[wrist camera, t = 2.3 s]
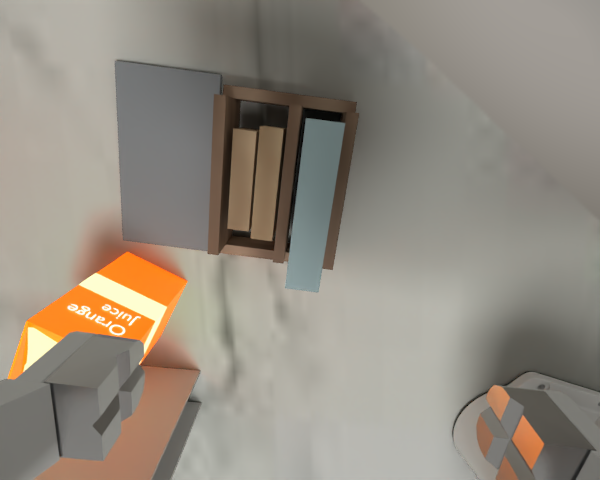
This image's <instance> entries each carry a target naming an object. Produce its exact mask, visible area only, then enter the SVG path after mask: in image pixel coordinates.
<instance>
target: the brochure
mask: <svg viewBox="0 0 600 480" xmlns="http://www.w3.org/2000/svg"><path fill="white" fill-rule="evenodd" d="M141 367H142V369H143V370H144V371H145V383H144V389H143V393H142V396H141V399H140V401H139V404H138V406H137V408H136V409H135V411H134V413H133V414H132V416H130V417H128V418H127V419H125V420H123V421H122V422H121V434H120V436H119V437H118V439H117V440H116V442H115V444H114V445H113V447H112V448H111V450H110V452H109V453H108V455H107V456H106V458H105V460H104V461H95V460H84V459H72V458H61V457H60V460H59V461H58V462H56V463H55V464H54V465H52V466H51V467H50V468H48V469H47V470H45V471H44V472H43V473H41V474H40V475H39V476H37V477H36V478H34V479H33V480H171V479H172V477H173V474H174V472H175V469H176V467H177V464H178V462H179V459H180V457H181V454H182V452H183V449H184V447H185V444H186V442H187V439H188V437H189V434H190V432H191V429H192V427H193V424H194V422H195V419H196V417H197V414H198V412H199V409H200V407H201V403H199V402H187V401H188V399H189V397H190V394H191V392H192V390H193V388H194V385H195V383H196V381H197V379H198V377H199V374H200V371H199V370H187V369H175V368H163V367H150V366H141Z"/></svg>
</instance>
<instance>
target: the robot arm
mask: <svg viewBox="0 0 600 480" xmlns="http://www.w3.org/2000/svg"><path fill="white" fill-rule="evenodd" d="M143 357H144V343H143V342H142V341H141V340H137V339H130V338H123V337H116V336H110V335H103V334H95V333H88V332H80V331H74V332H70V333H68V334H67V335H66V336H65V337H64V338H63V339H61V340H60V341H59V342H58V343H57V344H56V345H54V346H53V347H52V348H51V349H50V350H48V351H47V352H46V353H45V354H44V355H43V356H41V357H40V358H39V359H38V360H37V361H36V362H34V363H33V364H32V365H31V366H30V367H29V368H27V369H26V370H25V371H24V372H23V373H22V374H20V375H19V376H18V377H17V378H16V379H4V380H2V381H0V480H33V479H34V478H36V477H37V476H39V475H40V474H41V473H43V472H44V471H45V470H47V469H48V468H50V467H51V466H52V465H54V464H55V463H56V462H58V461H59V460H60V457H61V458H72V459H84V460H95V461H104V460H105V458H106V456H107V455H108V453H109V452H110V450H111V448H112V447H113V445H114V444H115V442H116V440H117V439H118V437H119V436H120V434H121V422H122V421H123V420H125V419H127V418H128V417H130V416H132V414H133V413H134V411H135V409H136V408H137V406H138V404H139V401H140V399H141V396H142V393H143V389H144V383H145V371H144V370H143V369H142V367H141V366H140V365H139V363H140V361H141V360H142V358H143ZM453 439H454V444H455V447H456V449H457V451H458V452H459V454H460V455H461V456H462V457H463V458H464V460H465V461H466V462H467V463H468V465H469V466H470V467H471V469H472V470H473V471H474V473H475V474H476V475H477V477H478V478H479V480H600V392H597V391H594V390H590V389H587V388H584V387H581V386H577V385H574V384H571V383H568V382H565V381H561V380H558V379H555V378H552V377H549V376H545V375H542V374H539V373H536V372H528V373H525V374H523V375H521V376H520V377H518V378H517V379H516V380H514V381H513V382H512V383H510V384H509V385H507V386H500V385H494V386H493V387H491V388H490V389H489V391H488V393H487V394H484V395H483V396H481V397H479V398H477V399H476V400H474V401H473V402H472V403H471V404H469V405H468V406H467V407H466V408H465V409H464V410H463V412H462V413H461V414H460V416H459V417H458V419H457V421H456V424H455V427H454V432H453Z"/></svg>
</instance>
